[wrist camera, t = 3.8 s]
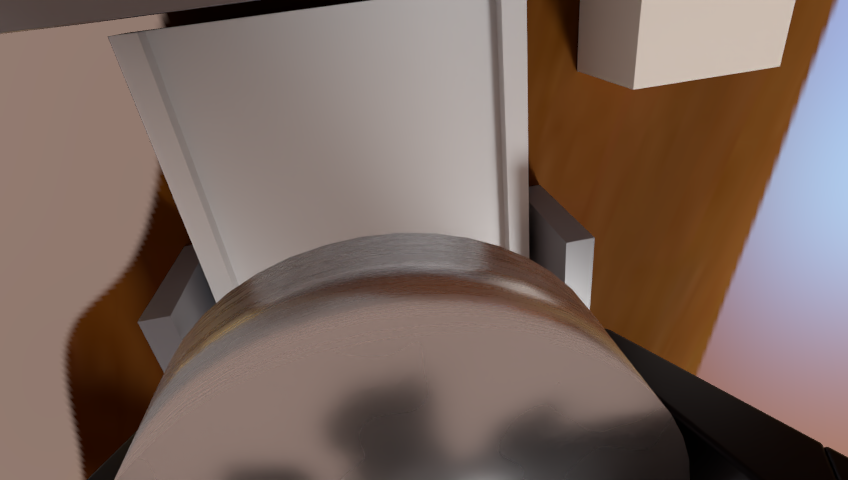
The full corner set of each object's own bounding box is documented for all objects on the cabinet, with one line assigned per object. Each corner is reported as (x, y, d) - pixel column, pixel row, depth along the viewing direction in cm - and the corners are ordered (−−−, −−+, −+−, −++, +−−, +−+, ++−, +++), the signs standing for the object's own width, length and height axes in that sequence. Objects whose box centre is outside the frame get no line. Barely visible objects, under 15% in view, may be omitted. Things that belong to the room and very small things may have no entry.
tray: (541, 261, 22) (598, 337, 17) (212, 322, 21) (173, 423, 16) (543, -91, 15) (636, -129, 10) (63, -32, 14) (-81, -44, 9)
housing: (539, 398, 26) (586, 494, 21) (271, 454, 25) (254, 570, 20) (539, 184, 20) (606, 249, 15) (184, 246, 19) (127, 338, 14)
